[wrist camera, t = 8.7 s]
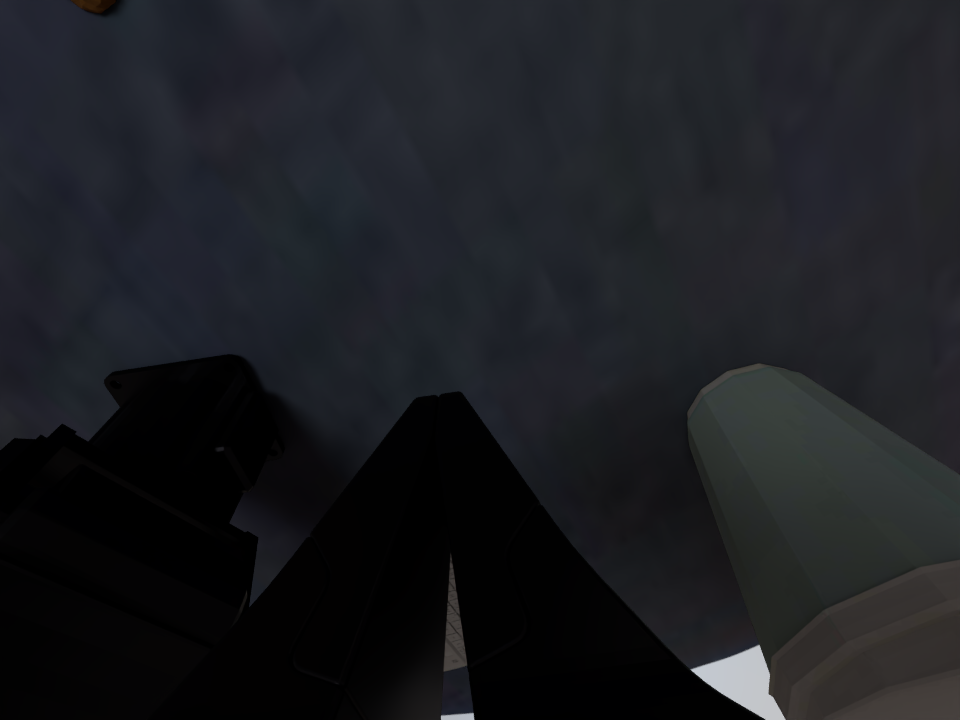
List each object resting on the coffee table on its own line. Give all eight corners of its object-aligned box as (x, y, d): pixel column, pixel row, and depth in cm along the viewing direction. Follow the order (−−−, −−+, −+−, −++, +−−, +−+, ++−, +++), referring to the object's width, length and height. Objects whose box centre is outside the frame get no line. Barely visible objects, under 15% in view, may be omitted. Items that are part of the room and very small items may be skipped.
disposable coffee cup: (797, 472, 29) (1061, 784, 17) (626, 482, 29) (764, 810, 16) (869, 320, 24) (1351, 620, 11) (657, 331, 23) (904, 654, 11)
